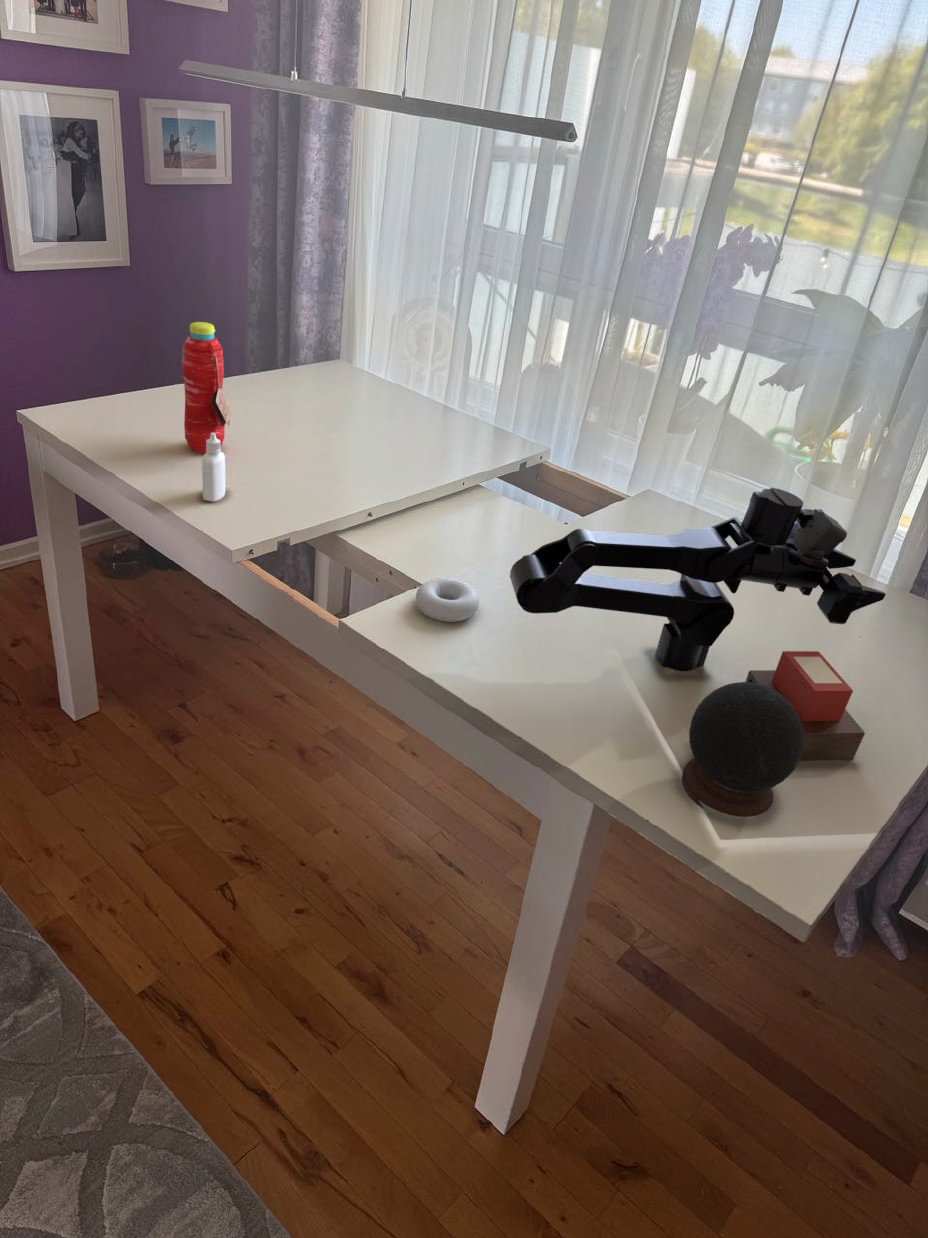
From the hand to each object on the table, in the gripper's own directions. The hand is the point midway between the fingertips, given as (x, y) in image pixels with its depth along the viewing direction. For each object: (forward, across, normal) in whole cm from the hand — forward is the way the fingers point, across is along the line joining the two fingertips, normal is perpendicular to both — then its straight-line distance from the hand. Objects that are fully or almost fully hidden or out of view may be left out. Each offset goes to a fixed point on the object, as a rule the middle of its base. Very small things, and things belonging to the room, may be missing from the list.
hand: (868, 578), depth 132 cm
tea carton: (-12, -16, +12) cm, 23 cm away
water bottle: (-100, +68, +29) cm, 124 cm away
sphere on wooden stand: (-26, -28, +18) cm, 42 cm away
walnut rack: (-12, -16, +17) cm, 26 cm away
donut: (-57, +12, +23) cm, 63 cm away
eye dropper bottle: (-96, +48, +28) cm, 111 cm away
